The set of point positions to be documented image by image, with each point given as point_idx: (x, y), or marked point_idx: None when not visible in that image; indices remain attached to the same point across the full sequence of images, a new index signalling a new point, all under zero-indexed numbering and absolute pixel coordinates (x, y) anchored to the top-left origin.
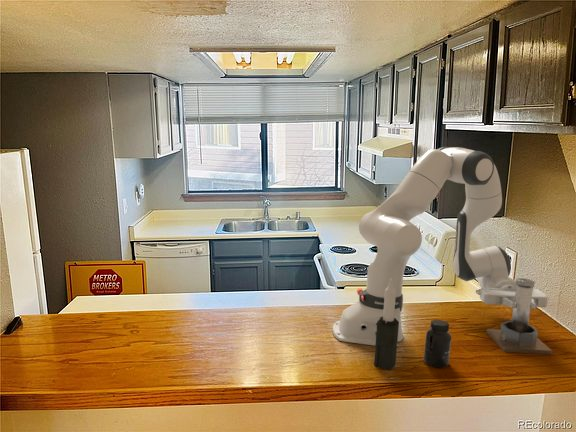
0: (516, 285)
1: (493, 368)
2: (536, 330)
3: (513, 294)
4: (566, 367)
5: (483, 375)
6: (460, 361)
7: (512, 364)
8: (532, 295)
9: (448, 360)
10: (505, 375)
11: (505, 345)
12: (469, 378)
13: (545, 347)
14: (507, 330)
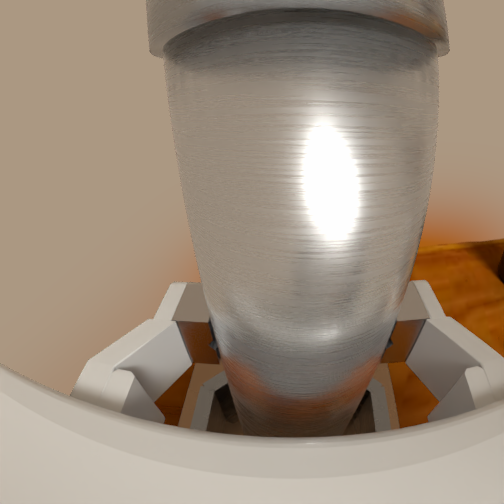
0: (436, 79)
1: (421, 276)
2: (208, 387)
3: (376, 480)
4: None
5: (437, 254)
6: (484, 290)
7: None
8: (20, 406)
9: (501, 260)
10: None
11: (376, 376)
12: (457, 246)
13: (205, 375)
14: (378, 385)
